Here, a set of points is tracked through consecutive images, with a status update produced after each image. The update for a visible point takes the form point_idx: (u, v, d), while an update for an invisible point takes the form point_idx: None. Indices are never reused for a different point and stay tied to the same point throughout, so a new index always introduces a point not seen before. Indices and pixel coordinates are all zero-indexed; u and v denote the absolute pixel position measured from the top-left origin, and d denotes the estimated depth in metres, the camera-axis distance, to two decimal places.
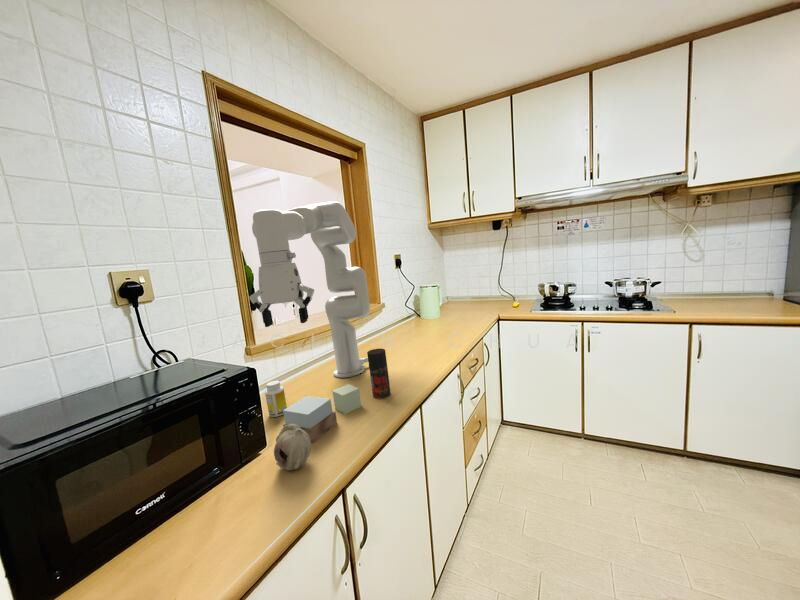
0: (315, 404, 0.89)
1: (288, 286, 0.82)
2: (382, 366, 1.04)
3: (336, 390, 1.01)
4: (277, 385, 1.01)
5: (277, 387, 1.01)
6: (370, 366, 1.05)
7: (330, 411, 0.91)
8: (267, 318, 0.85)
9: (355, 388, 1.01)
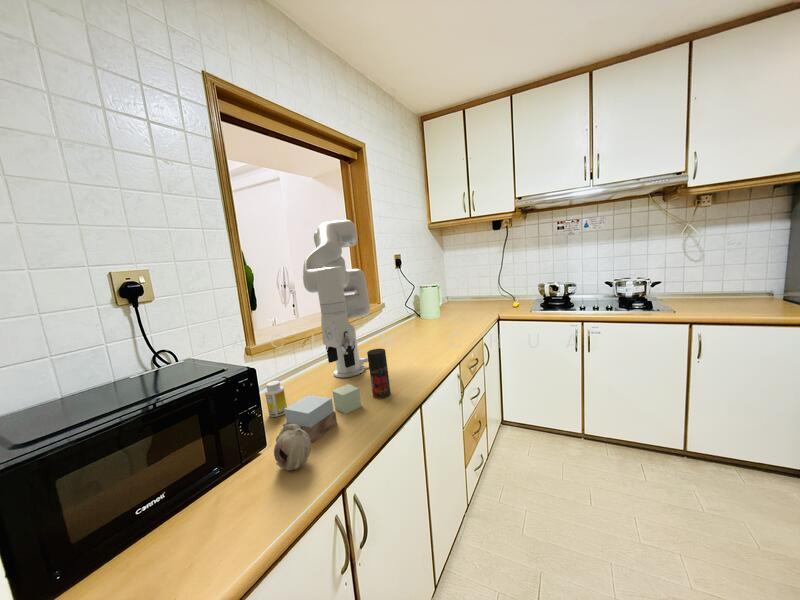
0: (316, 403, 0.89)
1: None
2: (382, 366, 1.04)
3: (336, 390, 1.01)
4: (277, 385, 1.01)
5: (277, 387, 1.01)
6: (370, 366, 1.05)
7: (331, 410, 0.91)
8: None
9: (355, 388, 1.01)
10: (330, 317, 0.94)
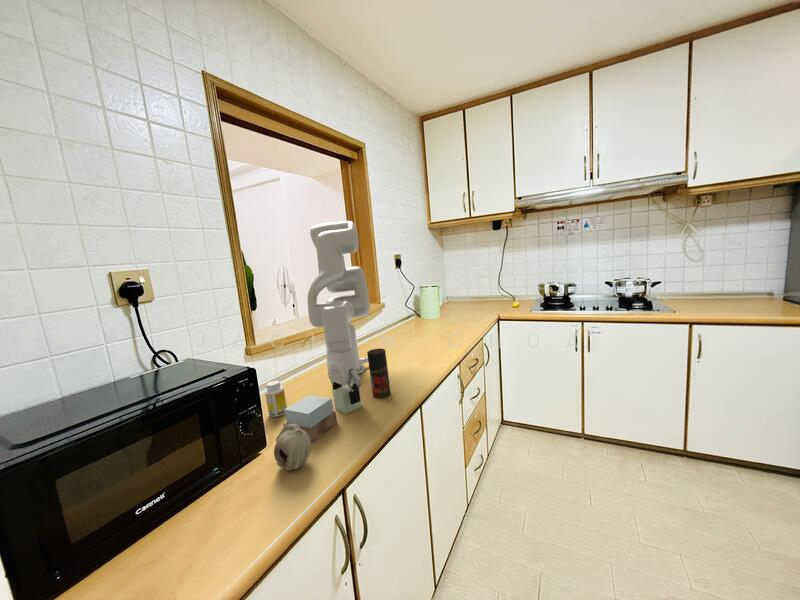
0: (316, 403, 0.89)
1: None
2: (382, 366, 1.04)
3: (336, 390, 1.01)
4: (277, 385, 1.01)
5: (277, 387, 1.01)
6: (370, 366, 1.05)
7: (331, 411, 0.91)
8: None
9: None
10: (336, 355, 0.96)
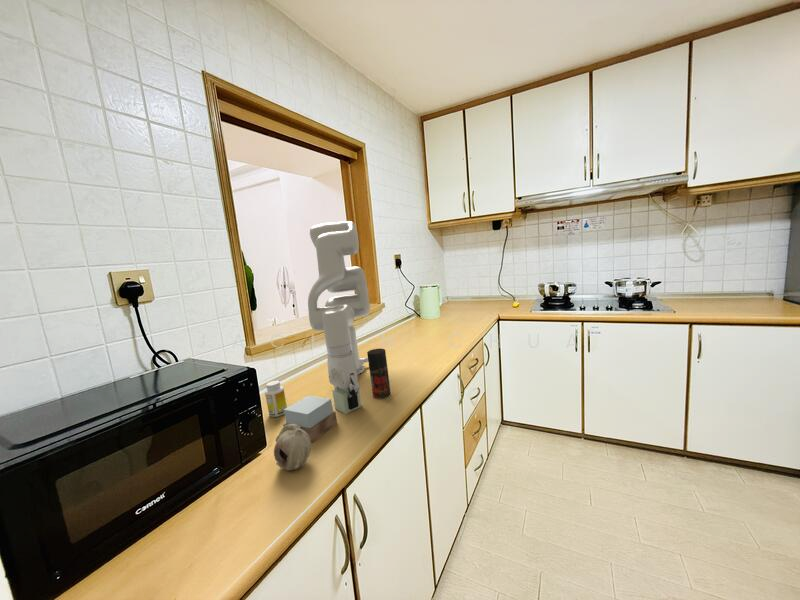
0: (316, 404, 0.89)
1: None
2: (382, 366, 1.04)
3: (336, 390, 1.01)
4: (277, 385, 1.01)
5: (277, 387, 1.01)
6: (370, 366, 1.05)
7: (330, 411, 0.91)
8: None
9: None
10: (337, 359, 0.96)
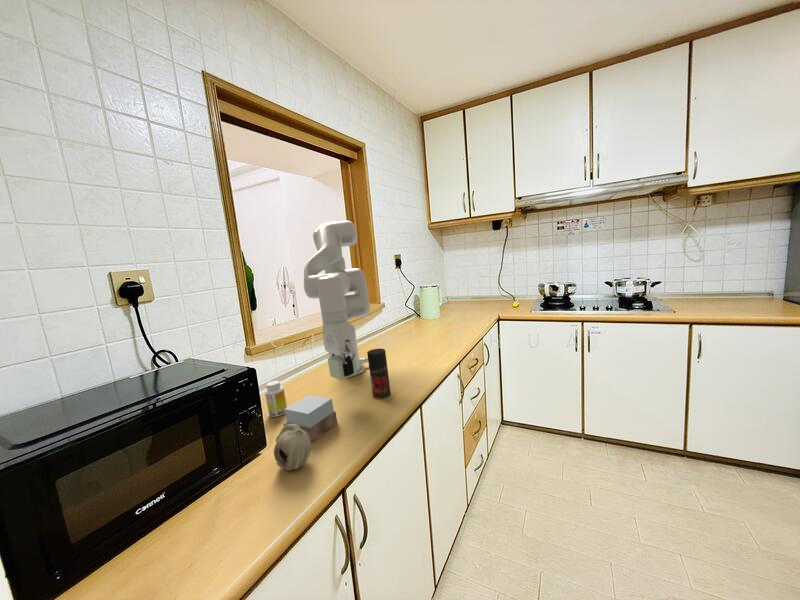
0: (316, 403, 0.89)
1: None
2: (382, 366, 1.04)
3: (331, 357, 1.01)
4: (277, 385, 1.01)
5: (277, 387, 1.01)
6: (370, 366, 1.05)
7: (331, 411, 0.91)
8: None
9: None
10: (332, 326, 0.95)
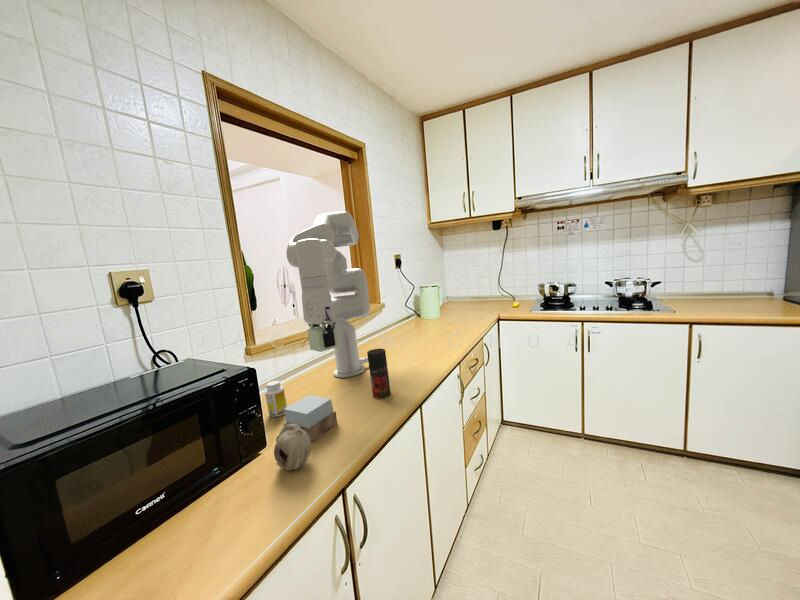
0: (315, 404, 0.89)
1: None
2: (382, 366, 1.04)
3: (311, 328, 0.94)
4: (277, 385, 1.01)
5: (277, 387, 1.01)
6: (370, 366, 1.05)
7: (330, 411, 0.91)
8: None
9: None
10: (311, 292, 0.89)
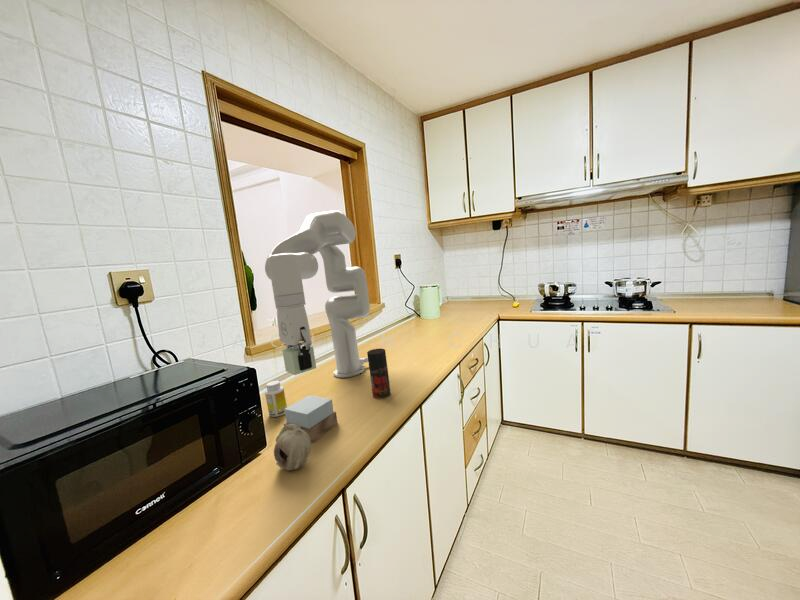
0: (316, 404, 0.89)
1: None
2: (382, 366, 1.04)
3: (287, 349, 0.87)
4: (277, 385, 1.01)
5: (277, 387, 1.01)
6: (370, 366, 1.05)
7: (331, 411, 0.91)
8: None
9: None
10: (285, 311, 0.83)
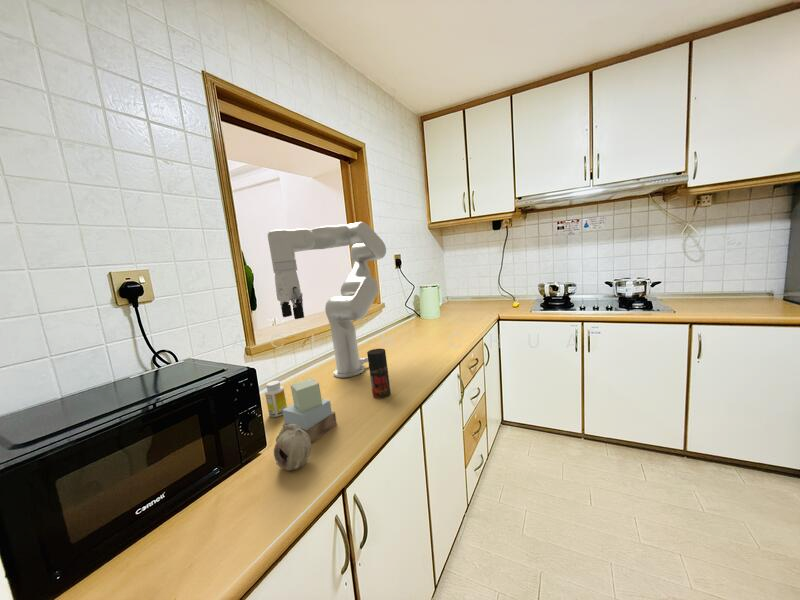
0: None
1: None
2: (382, 366, 1.04)
3: (294, 384, 0.89)
4: (277, 385, 1.01)
5: (277, 387, 1.01)
6: (370, 366, 1.05)
7: (329, 413, 0.90)
8: None
9: (315, 383, 0.88)
10: (281, 274, 1.06)
